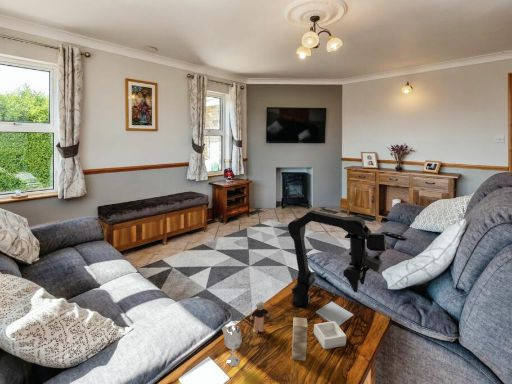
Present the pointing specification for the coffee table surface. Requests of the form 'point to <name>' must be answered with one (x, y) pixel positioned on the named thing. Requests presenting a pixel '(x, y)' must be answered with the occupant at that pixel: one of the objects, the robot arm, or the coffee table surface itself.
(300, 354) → the birch post block
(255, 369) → the coffee table surface
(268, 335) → the coffee table surface
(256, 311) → the grandmother figurine
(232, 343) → the wineglass
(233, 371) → the coffee table surface
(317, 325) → the post socket
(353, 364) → the coffee table surface
